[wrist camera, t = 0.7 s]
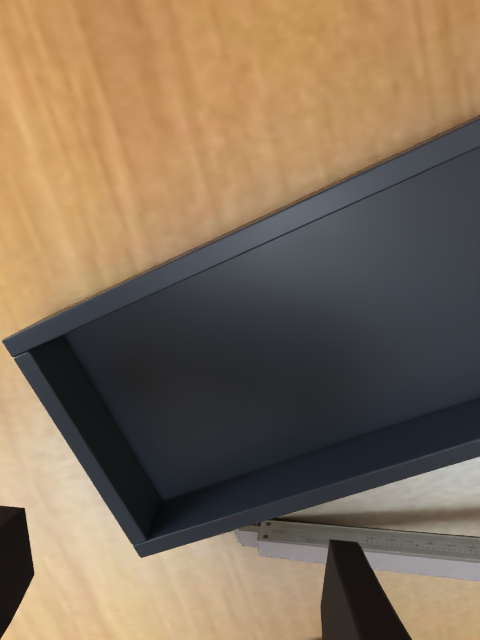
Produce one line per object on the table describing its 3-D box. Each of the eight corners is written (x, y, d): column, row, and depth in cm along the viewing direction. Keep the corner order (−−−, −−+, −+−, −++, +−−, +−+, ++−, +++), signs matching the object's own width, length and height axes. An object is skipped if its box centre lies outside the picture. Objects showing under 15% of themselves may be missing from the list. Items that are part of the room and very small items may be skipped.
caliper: (671, 492, 18) (861, 633, 12) (668, 511, 19) (852, 659, 13) (235, 519, 21) (218, 647, 15) (238, 536, 21) (223, 668, 15)
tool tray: (677, 342, 16) (762, 372, 14) (158, 510, 21) (140, 559, 18) (623, 48, 14) (714, 9, 11) (43, 318, 19) (0, 340, 16)
